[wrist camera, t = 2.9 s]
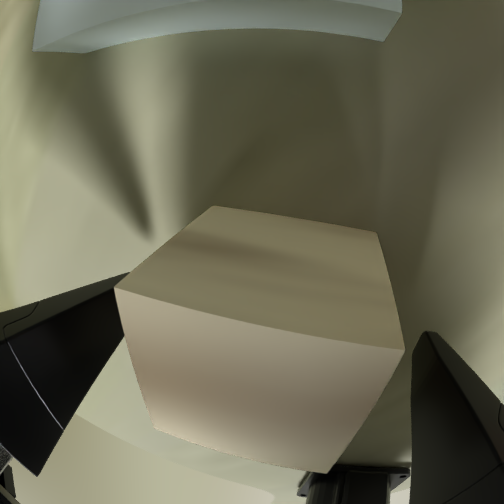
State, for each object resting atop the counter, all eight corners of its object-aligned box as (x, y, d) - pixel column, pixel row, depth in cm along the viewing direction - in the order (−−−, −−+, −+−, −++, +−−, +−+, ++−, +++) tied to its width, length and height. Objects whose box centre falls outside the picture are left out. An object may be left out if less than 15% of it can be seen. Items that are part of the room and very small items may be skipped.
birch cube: (340, 354, 11) (326, 473, 6) (213, 327, 12) (154, 428, 7) (376, 231, 8) (404, 350, 4) (213, 204, 9) (113, 287, 5)
